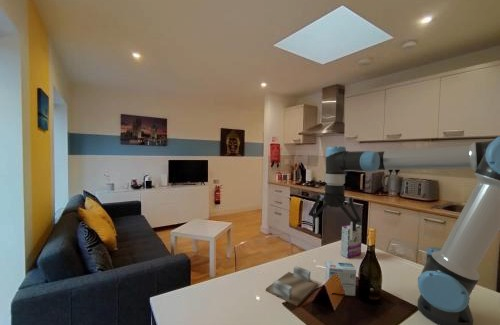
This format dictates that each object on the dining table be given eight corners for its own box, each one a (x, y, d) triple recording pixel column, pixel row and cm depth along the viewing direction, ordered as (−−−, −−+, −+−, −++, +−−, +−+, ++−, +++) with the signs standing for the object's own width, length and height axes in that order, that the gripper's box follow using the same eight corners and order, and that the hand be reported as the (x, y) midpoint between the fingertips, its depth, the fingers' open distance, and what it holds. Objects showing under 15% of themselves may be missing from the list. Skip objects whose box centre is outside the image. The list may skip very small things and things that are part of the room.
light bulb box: (350, 286, 99) (351, 261, 99) (355, 296, 93) (357, 269, 92) (324, 284, 100) (325, 259, 100) (327, 294, 94) (329, 267, 93)
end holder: (317, 285, 99) (318, 274, 99) (297, 306, 85) (297, 292, 85) (288, 273, 108) (289, 263, 108) (265, 290, 94) (266, 278, 94)
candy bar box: (353, 251, 136) (354, 223, 135) (361, 255, 131) (362, 226, 131) (339, 255, 130) (341, 225, 130) (347, 258, 126) (349, 228, 125)
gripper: (369, 185, 94) (367, 238, 94) (306, 181, 105) (305, 228, 106) (368, 187, 87) (366, 244, 88) (302, 182, 99) (301, 233, 99)
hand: (333, 235), depth 97 cm, fingers open, 13 cm apart
